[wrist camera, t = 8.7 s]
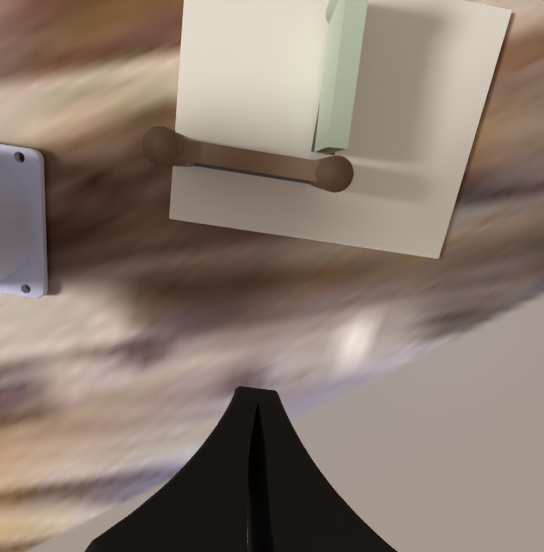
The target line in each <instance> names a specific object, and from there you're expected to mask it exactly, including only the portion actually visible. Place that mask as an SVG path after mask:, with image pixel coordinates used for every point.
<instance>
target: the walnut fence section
mask: <svg viewBox="0 0 544 552" xmlns="http://www.w3.org/2000/svg"><path fill="white" fill-rule="evenodd" d="M142 147H143V151H144V154H145V155H146V157H147V158H148V159H149V160H150V161H151V162H152V163H154V164H157V165H162V166H181V167H192V166H194V165H196V164H197V163H201V164H207V165H213V166H220V167H226V168H232V169H239V170H245V171H251V172H258V173H264V174H270V175H277V176H283V177H289V178H296V179H302V180H307V181H308V182H309V184H310V185H312V186H314V187H317V188H320V189H323V190H326V191H329V192H333V193H337V192H341V191H343V190H345V189H346V188H348V186H349V185H350V184H351V182H352V180H353V176H354V170H353V166H352V164H351V163H350V161H349V160H348V159H347V158H345V157H343V156H339V155H335V156H330V157H326V158H321V159H317V160H314V161H313V160H307V159H301V158H294V157H288V156H282V155H276V154H270V153H264V152H257V151H251V150H245V149H239V148H233V147H226V146H220V145H214V144H208V143H202V142H196V141H195V140H193V139H191V138H189V137H187V136H184V135H182V134H180V133H177V132H175V131H173V130H170V129H168V128H165V127H161V126H157V127H153V128H151V129H150V130H148V131H147V132H146V134H145V135H144V138H143V142H142Z"/></svg>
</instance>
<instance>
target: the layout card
mask: <svg viewBox="0 0 544 552" xmlns="http://www.w3.org/2000/svg"><path fill="white" fill-rule="evenodd" d="M329 1H330V0H184V9H183V24H182V38H181V53H180V67H179V82H178V96H177V111H176V126H175V132H177V133H180V134H182V135H184V136H187V137H189V138H191V139H193V140H195V141H196V142H202V143H208V144H214V145H220V146H226V147H233V148H239V149H245V150H251V151H257V152H264V153H270V154H276V155H282V156H288V157H294V158H301V159H307V160H313V161H314V160H317V159H321V158H326V157H330V156H335V155H339V156H343V157H345V158H347V159H348V160H349V161H350V163H351V164H352V166H353V170H354V176H353V180H352V182H351V184H350V185H349V186H348V188H346V189H345V190H343V191H341V192H337V193H333V192H329V191H326V190H323V189H320V188H317V187H314V186H312V185H310V184H309V182H308V181H307V180H302V179H296V178H289V177H283V176H277V175H270V174H264V173H258V172H251V171H245V170H239V169H232V168H226V167H220V166H213V165H207V164H201V163H197V164H196V165H194V166H192V167H181V166H173V169H172V184H171V198H170V213H169V219H174V220H180V221H187V222H194V223H200V224H207V225H214V226H221V227H227V228H234V229H241V230H248V231H254V232H261V233H268V234H274V235H281V236H288V237H295V238H301V239H308V240H315V241H321V242H328V243H335V244H342V245H348V246H355V247H362V248H369V249H375V250H382V251H389V252H395V253H402V254H409V255H416V256H422V257H429V258H436V259H439V256H440V253H441V249H442V246H443V242H444V239H445V236H446V232H447V229H448V225H449V222H450V219H451V215H452V212H453V209H454V205H455V202H456V198H457V195H458V192H459V188H460V185H461V181H462V178H463V175H464V171H465V168H466V164H467V161H468V158H469V154H470V151H471V148H472V144H473V141H474V137H475V134H476V131H477V127H478V124H479V120H480V117H481V114H482V110H483V107H484V104H485V100H486V97H487V93H488V90H489V87H490V83H491V80H492V76H493V73H494V70H495V66H496V63H497V60H498V56H499V53H500V49H501V46H502V43H503V39H504V36H505V32H506V29H507V26H508V22H509V19H510V15H511V12H512V10H510V9H505V8H500V7H494V6H489V5H484V4H479V3H474V2H468V1H463V0H368V5H367V12H366V19H365V26H364V34H363V41H362V48H361V55H360V62H359V70H358V77H357V84H356V91H355V98H354V106H353V113H352V120H351V127H350V134H349V142H348V149H345V150H341V151H338V152H334V153H330V154H329V153H318V152H314V150H315V141H316V133H317V124H318V115H319V106H320V97H321V89H322V80H323V71H324V62H325V53H326V45H327V36H328V27H329V24H328V22H327V20H326V9H327V6H328V3H329Z"/></svg>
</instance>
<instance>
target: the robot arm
mask: <svg viewBox="0 0 544 552" xmlns="http://www.w3.org/2000/svg"><path fill="white" fill-rule="evenodd" d="M20 153H22V154H23V155H24V157H25V159H24V161H23V162H22V161H21V160H20V158H19V155H20ZM26 285H28V286H29V287H30V289H31V290H30V291H29V290H27V289H26ZM47 291H48V276H47V243H46V211H45V178H44V159H43V156H42V154H41V153H40V152H39V151H38V150H35V149H31V148H25V147H19V146H12V145H6V144H0V293H1V294H9V295H16V296H24V297H31V298H40V297H42V296H44V295H46V293H47ZM247 529H248V547H247ZM85 552H397V551H396V550H395V549H393V548H392V547H391V546H390V545H389V544H387V543H386V542H385V541H384V540H383V539H382V538H381V537H380V536H378V535H377V534H376V533H375V532H374V531H373V530H372V529H371V528H370V527H369V526H368V525H367V524H366V523H365V522H364V521H363V520H362V519H361V518H360V517H359V516H358V515H357V514H356V513H355V512H354V511H353V510H352V509H351V508H350V506H348V505H347V503H346V502H345V501H344V500H343V499H342V498H341V497H340V496H339V494H338V493H337V492H336V491H335V490H334V488H333V487H332V486H331V485H330V483H329V482H328V481H327V480H326V478H325V477H324V476H323V474H322V473H321V472H320V470H319V469H318V467H317V466H316V464H315V463H314V462H313V460H312V459H311V457H310V456H309V454H308V453H307V451H306V449H305V448H304V446H303V444H302V443H301V441H300V439H299V437H298V435H297V434H296V432H295V430H294V428H293V426H292V424H291V422H290V420H289V418H288V416H287V414H286V412H285V410H284V407H283V405H282V403H281V400H280V398H279V395H278V393H277V392H276V391H274V390H266V389H258V388H250V387H242V386H239V387H238V388H236V389H235V393H234V396H233V398H232V400H231V402H230V404H229V406H228V408H227V410H226V412H225V413H224V415H223V416H222V418H221V420H220V421H219V423H218V424H217V426H216V427H215V429H214V430H213V431H212V433H211V434H210V435H209V437H208V438H207V440H206V441H205V442H204V444H203V445H202V446H201V447H200V448H199V450H198V451H197V452H196V453H195V454H194V456H193V457H192V458H191V459H190V460H189V461H188V462H187V463H186V465H185V466H184V467H183V468H182V469H181V470H180V471H179V472H178V473H177V474H176V475H175V476H174V477H173V478H172V479H171V480H170V481H169V482H168V483H166V484H165V485H164V486H163V487H162V488H161V489H160V490H159V491H158V492H156V493H155V494H154V495H153V496H152V497H150V498H149V499H148V500H147V501H146V502H145V503H143V504H142V505H141V506H140V507H138V508H137V509H136V510H135V511H133V512H132V513H131V514H130V515H128V516H127V517H125V518H124V519H123V520H121V521H120V522H118V523H117V524H116V525H114V526H113V527H111V528H110V529H108V530H107V531H106V532H104V533H103V534H101V535H100V536H99V537H97V538H96V539H94V540H93V541H92V542H91V544H90V545H89V546H88V548H87V549H86V550H85Z"/></svg>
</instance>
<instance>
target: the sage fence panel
mask: <svg viewBox="0 0 544 552" xmlns="http://www.w3.org/2000/svg"><path fill="white" fill-rule="evenodd" d="M367 5H368V0H330V1H329V3H328V6H327V9H326V20H327V22H328V24H329V27H328V36H327V45H326V53H325V62H324V71H323V80H322V89H321V97H320V106H319V115H318V124H317V133H316V141H315V150H314V152H318V153H329V154H330V153H334V152H338V151H341V150H345V149H348V142H349V134H350V127H351V120H352V113H353V106H354V98H355V91H356V84H357V77H358V70H359V62H360V55H361V48H362V41H363V34H364V26H365V19H366V12H367Z"/></svg>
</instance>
